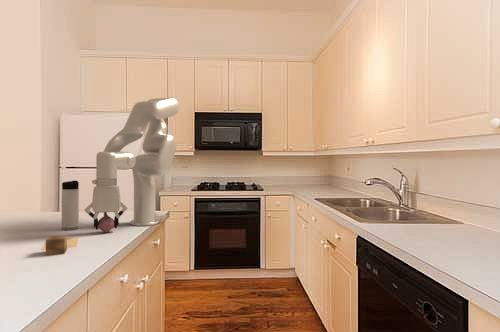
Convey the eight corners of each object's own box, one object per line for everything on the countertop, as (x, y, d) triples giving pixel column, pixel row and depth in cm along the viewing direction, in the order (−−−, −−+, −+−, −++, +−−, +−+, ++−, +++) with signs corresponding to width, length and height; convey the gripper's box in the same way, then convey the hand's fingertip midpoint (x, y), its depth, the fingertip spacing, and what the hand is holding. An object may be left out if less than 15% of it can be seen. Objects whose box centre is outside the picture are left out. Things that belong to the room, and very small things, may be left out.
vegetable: (95, 233, 133) (95, 208, 133) (110, 230, 137) (110, 206, 137) (101, 235, 129) (101, 209, 129) (117, 233, 133) (117, 208, 133)
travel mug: (82, 227, 144) (82, 180, 143) (72, 230, 137) (72, 181, 137) (68, 226, 144) (68, 180, 144) (58, 229, 138) (58, 181, 137)
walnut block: (66, 250, 108) (66, 235, 107) (64, 255, 103) (64, 238, 103) (48, 252, 106) (48, 236, 106) (45, 256, 101) (45, 240, 101)
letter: (77, 237, 125) (77, 237, 125) (77, 247, 111) (77, 246, 111) (46, 240, 120) (46, 239, 120) (41, 250, 107) (41, 249, 107)
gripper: (82, 184, 126) (81, 231, 126) (130, 183, 133) (130, 228, 134) (82, 182, 132) (81, 228, 133) (128, 182, 140) (128, 225, 140)
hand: (106, 227), depth 133 cm, fingers closed on vegetable, 6 cm apart
